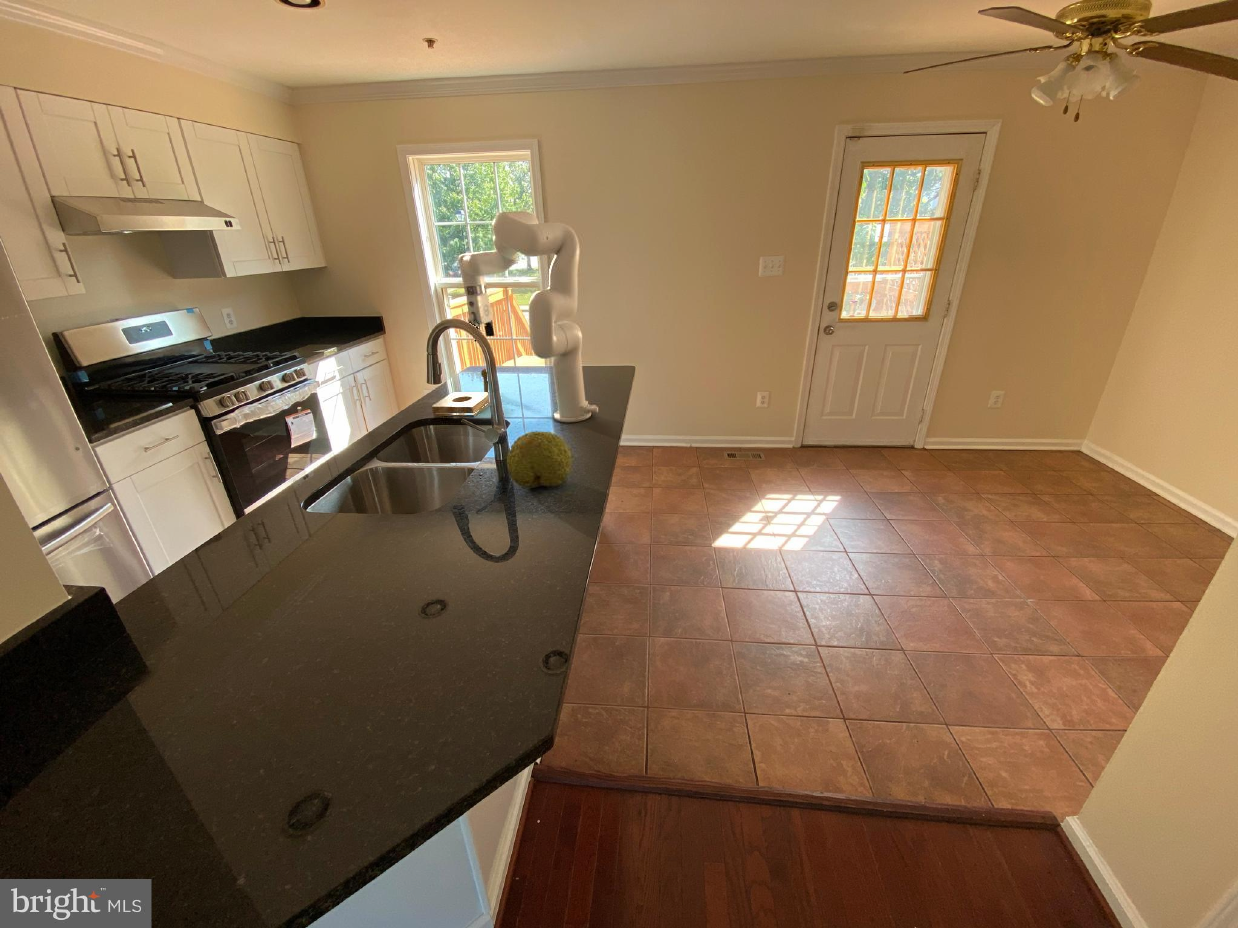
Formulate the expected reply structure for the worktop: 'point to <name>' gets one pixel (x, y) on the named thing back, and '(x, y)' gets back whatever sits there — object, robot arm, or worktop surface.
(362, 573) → the worktop surface
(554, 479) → the fruit
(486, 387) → the cork
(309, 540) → the worktop surface
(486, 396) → the stand
